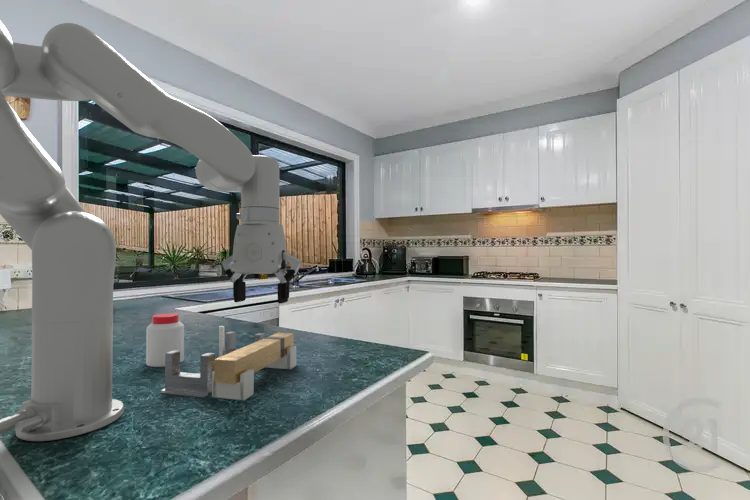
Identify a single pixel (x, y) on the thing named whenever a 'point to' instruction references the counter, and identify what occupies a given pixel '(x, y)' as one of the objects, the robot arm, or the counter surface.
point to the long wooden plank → (252, 357)
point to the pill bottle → (164, 338)
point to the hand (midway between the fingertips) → (261, 301)
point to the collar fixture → (202, 381)
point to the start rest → (250, 379)
